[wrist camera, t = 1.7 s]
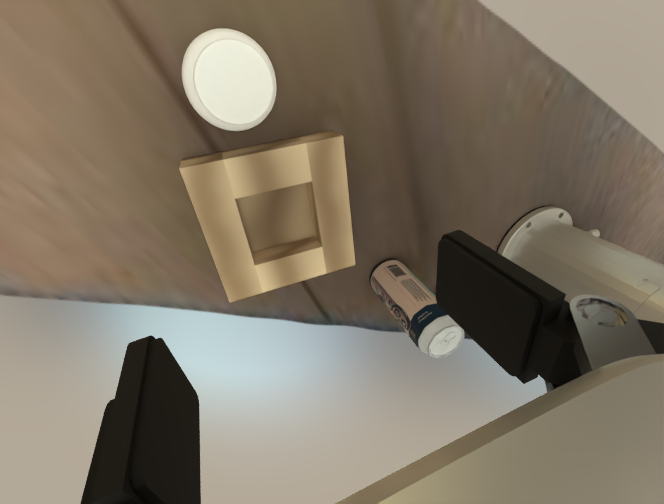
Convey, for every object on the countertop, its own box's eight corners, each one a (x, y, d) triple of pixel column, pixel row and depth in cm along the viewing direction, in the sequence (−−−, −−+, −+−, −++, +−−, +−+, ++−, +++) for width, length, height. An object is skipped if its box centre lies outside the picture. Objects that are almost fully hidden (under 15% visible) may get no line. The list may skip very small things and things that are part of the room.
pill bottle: (261, 121, 26) (285, 142, 18) (191, 116, 25) (183, 137, 17) (261, 45, 24) (288, 31, 16) (183, 33, 22) (170, 10, 14)
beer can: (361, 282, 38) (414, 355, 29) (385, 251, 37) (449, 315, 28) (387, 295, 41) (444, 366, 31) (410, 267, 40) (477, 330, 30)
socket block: (331, 130, 29) (343, 135, 26) (345, 251, 35) (355, 264, 33) (181, 159, 26) (179, 168, 23) (228, 285, 33) (229, 302, 30)
